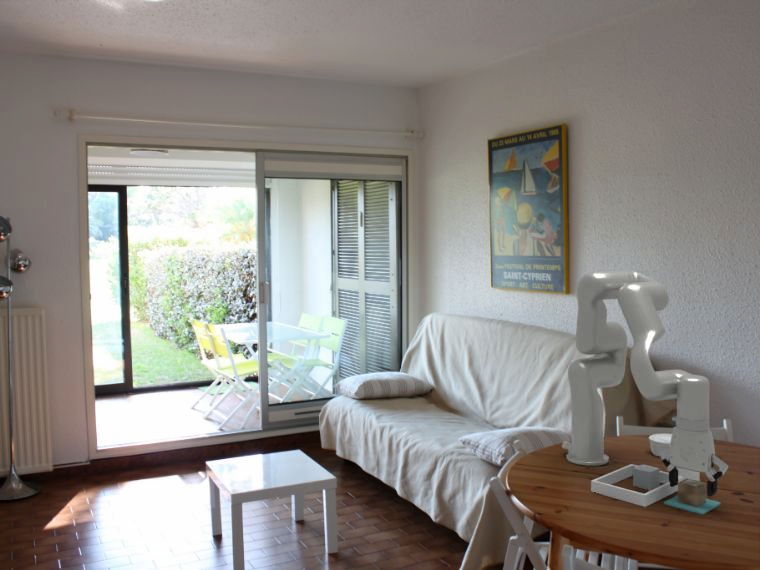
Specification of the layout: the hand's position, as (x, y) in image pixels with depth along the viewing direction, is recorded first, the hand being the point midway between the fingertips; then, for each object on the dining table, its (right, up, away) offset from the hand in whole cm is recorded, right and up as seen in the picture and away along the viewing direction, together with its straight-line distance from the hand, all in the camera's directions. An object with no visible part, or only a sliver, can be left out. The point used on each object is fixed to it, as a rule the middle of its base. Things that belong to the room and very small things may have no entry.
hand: (692, 490), depth 182 cm
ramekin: (+11, -1, +43) cm, 44 cm away
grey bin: (-10, -3, +11) cm, 15 cm away
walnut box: (0, -3, 0) cm, 3 cm away
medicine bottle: (+6, -3, +20) cm, 21 cm away
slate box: (-6, -3, +14) cm, 16 cm away
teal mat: (0, -4, 0) cm, 4 cm away
